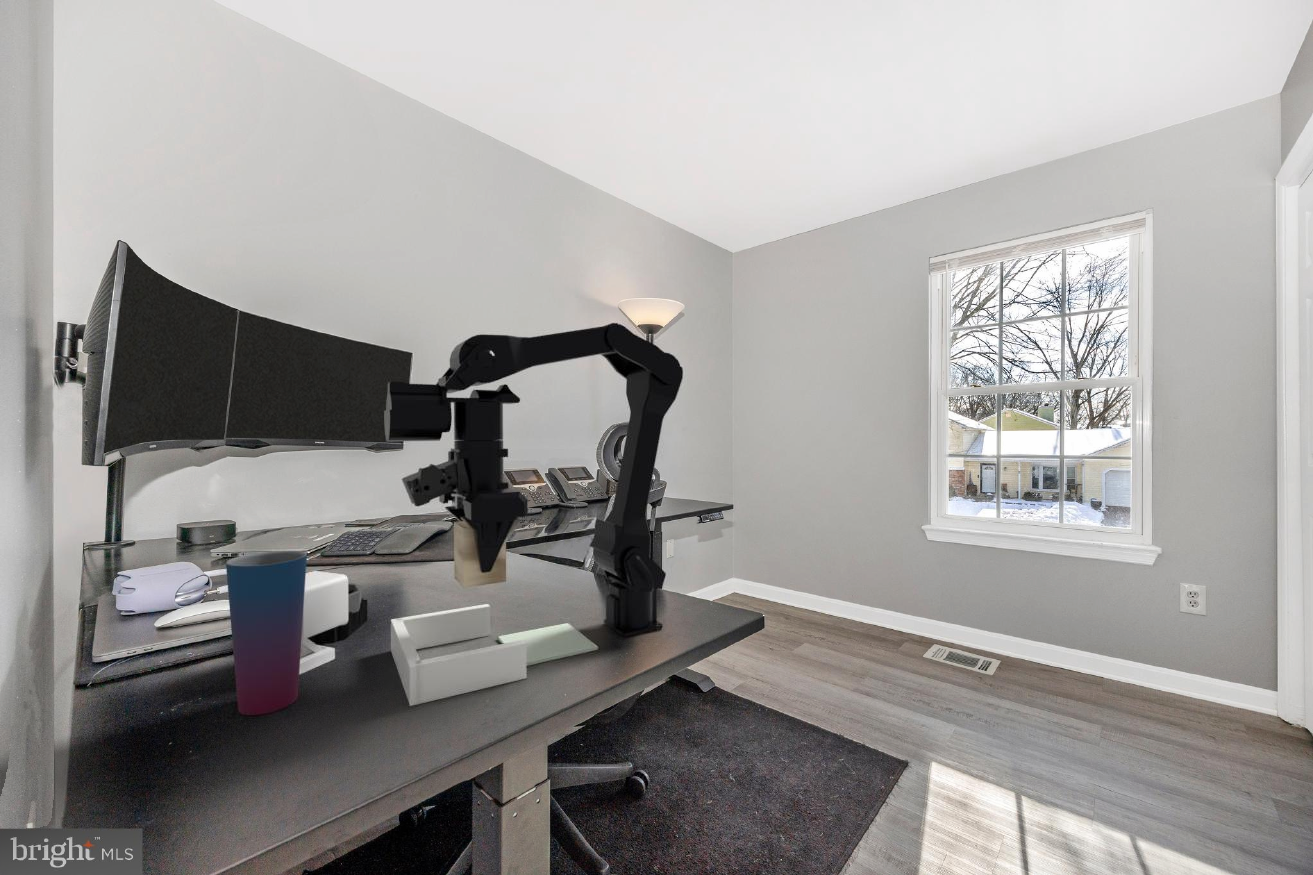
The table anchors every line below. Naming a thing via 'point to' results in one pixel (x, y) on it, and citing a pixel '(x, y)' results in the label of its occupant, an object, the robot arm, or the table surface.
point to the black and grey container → (355, 617)
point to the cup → (266, 627)
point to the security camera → (322, 615)
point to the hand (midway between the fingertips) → (480, 567)
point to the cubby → (452, 655)
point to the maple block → (474, 560)
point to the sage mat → (551, 643)
